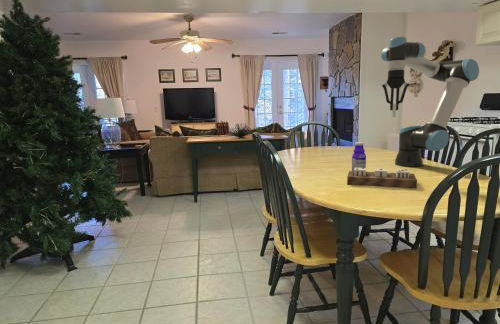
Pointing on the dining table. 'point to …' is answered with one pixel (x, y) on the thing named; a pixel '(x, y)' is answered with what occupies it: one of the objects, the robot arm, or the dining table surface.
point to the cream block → (380, 172)
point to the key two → (360, 171)
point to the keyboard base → (382, 180)
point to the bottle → (358, 156)
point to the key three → (402, 173)
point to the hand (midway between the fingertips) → (393, 116)
